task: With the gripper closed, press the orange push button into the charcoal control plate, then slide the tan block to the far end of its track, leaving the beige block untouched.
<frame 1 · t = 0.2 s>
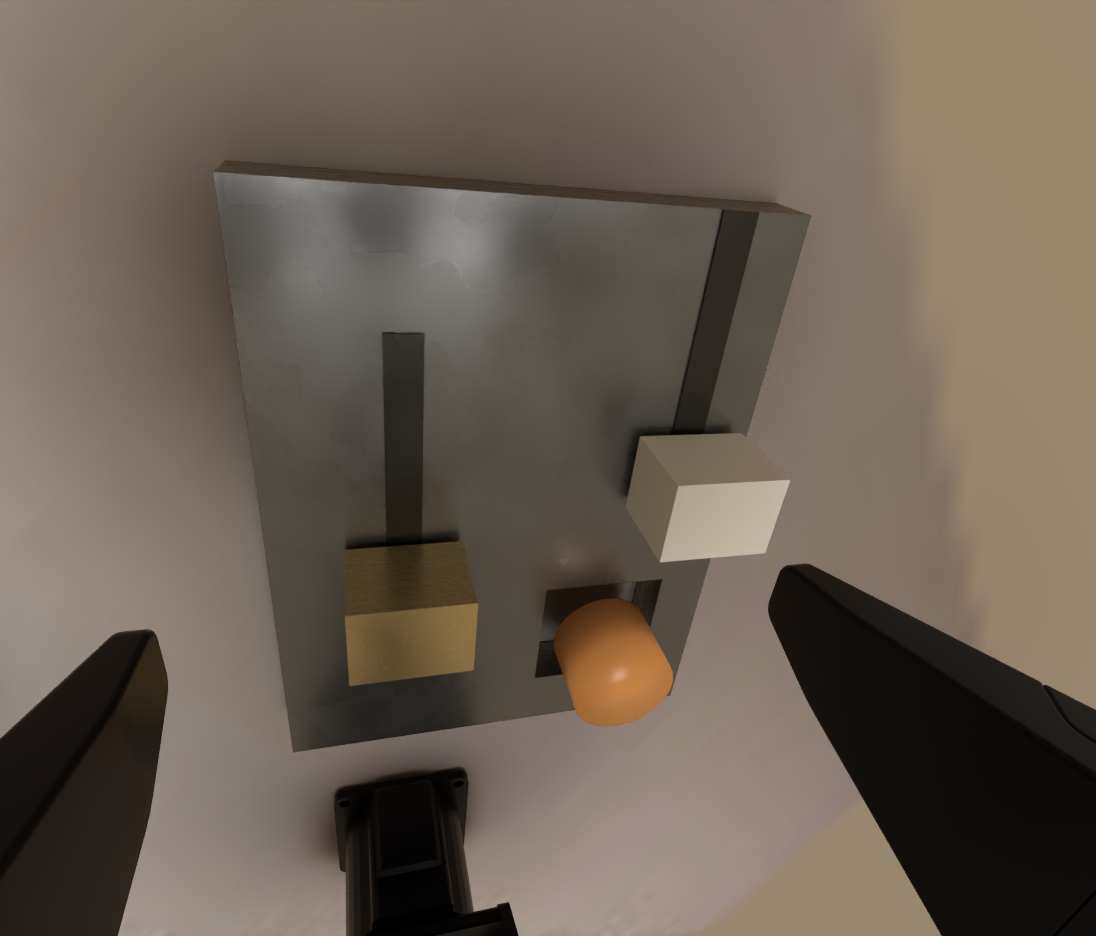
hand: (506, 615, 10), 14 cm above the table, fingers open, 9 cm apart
control plate: (505, 490, 26), on the table
orange push button: (611, 661, 27), point 4 cm above the table, slide at 0.0 cm
tan block: (408, 610, 22), point 4 cm above the table, slide at 0.0 cm
beige block: (702, 494, 23), point 4 cm above the table, slide at 0.0 cm
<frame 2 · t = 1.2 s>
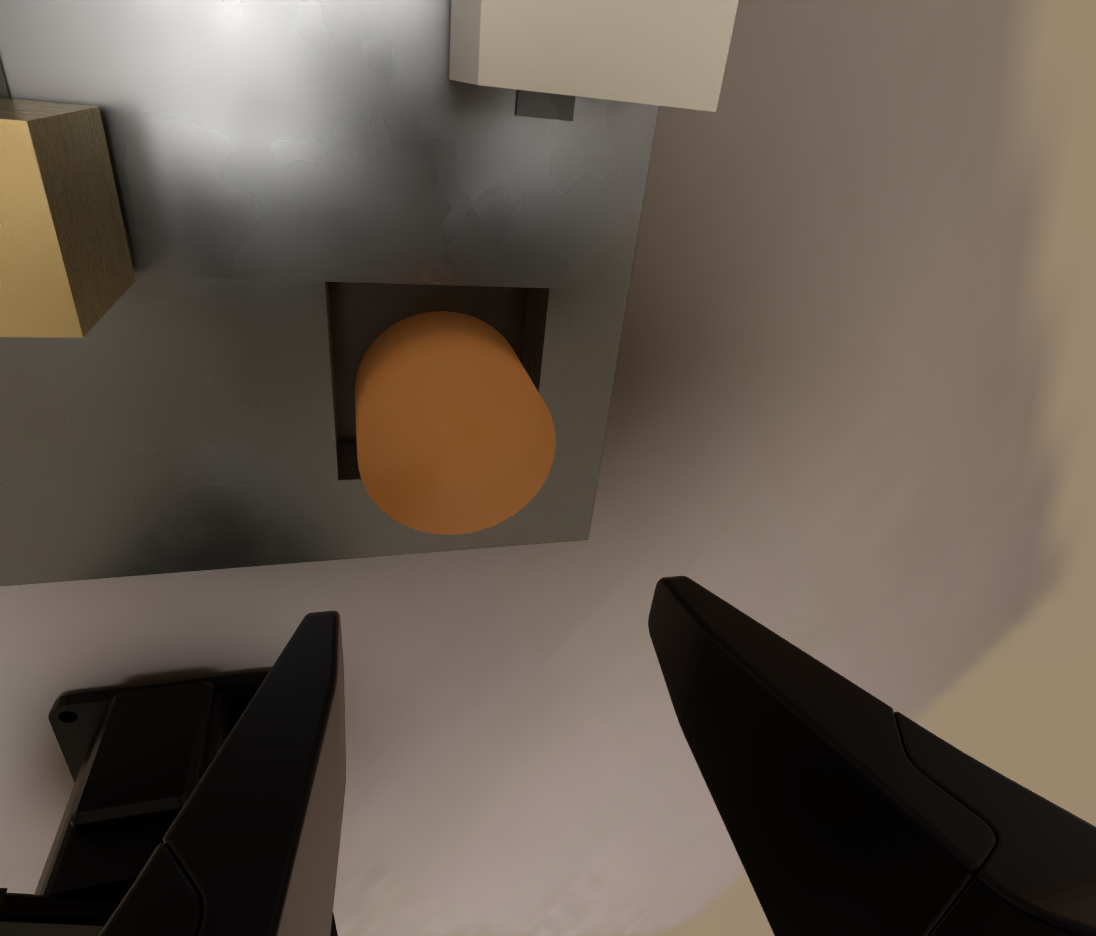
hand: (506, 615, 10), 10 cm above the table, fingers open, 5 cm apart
control plate: (238, 82, 14), on the table
orange push button: (450, 421, 15), point 4 cm above the table, slide at 0.0 cm
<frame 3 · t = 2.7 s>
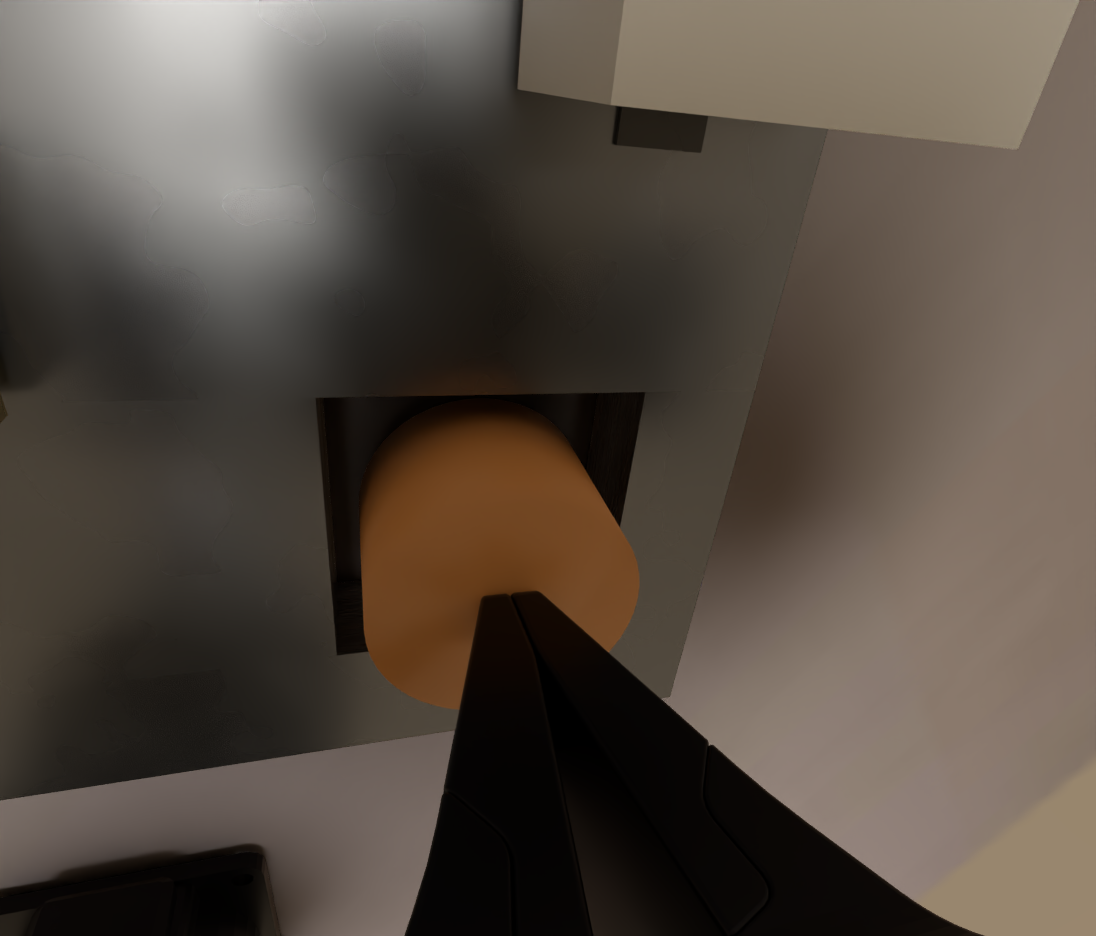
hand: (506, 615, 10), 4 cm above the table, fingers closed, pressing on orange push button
control plate: (179, 93, 9), on the table
orange push button: (489, 549, 11), point 3 cm above the table, slide at 1.3 cm, touching gripper
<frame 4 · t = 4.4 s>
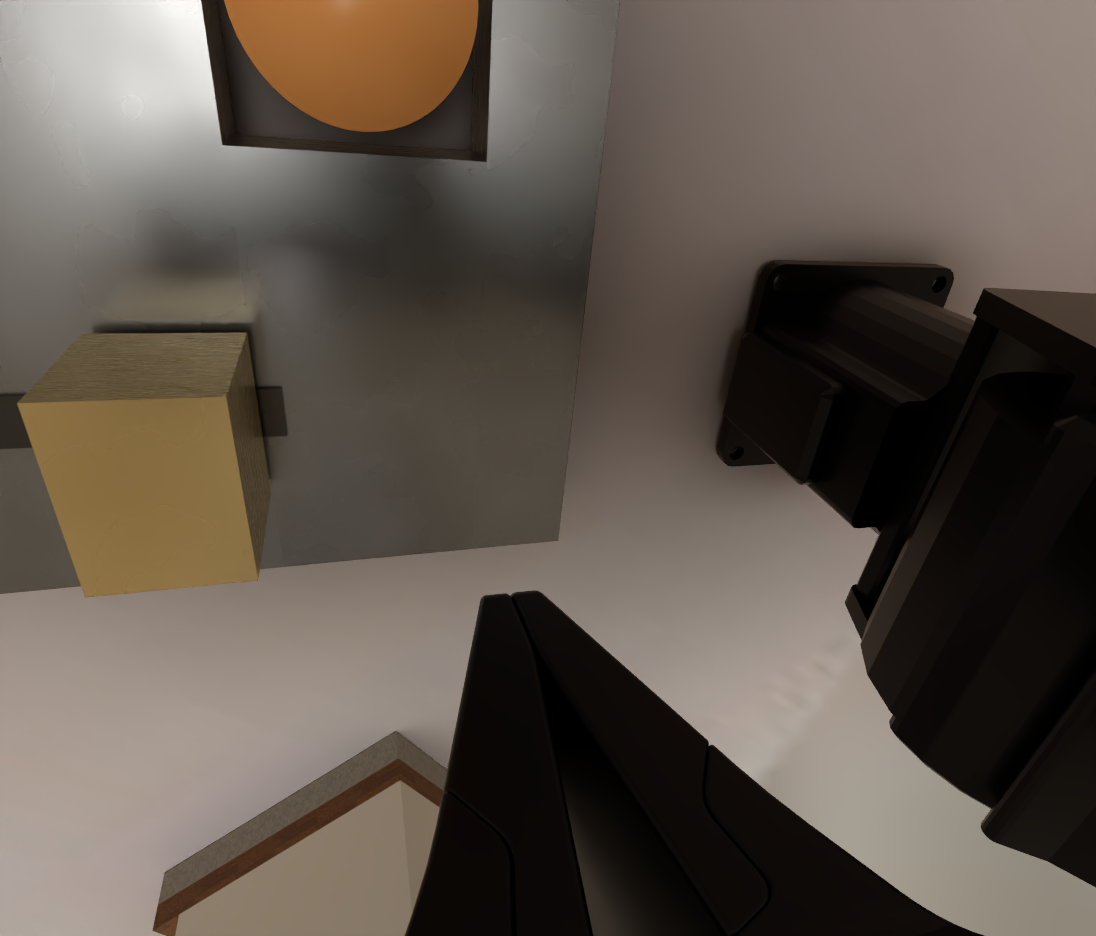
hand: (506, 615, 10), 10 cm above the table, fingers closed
beige tower stand: (372, 850, 28), on the table
control plate: (63, 203, 14), on the table
tan block: (170, 457, 13), point 4 cm above the table, slide at 0.0 cm
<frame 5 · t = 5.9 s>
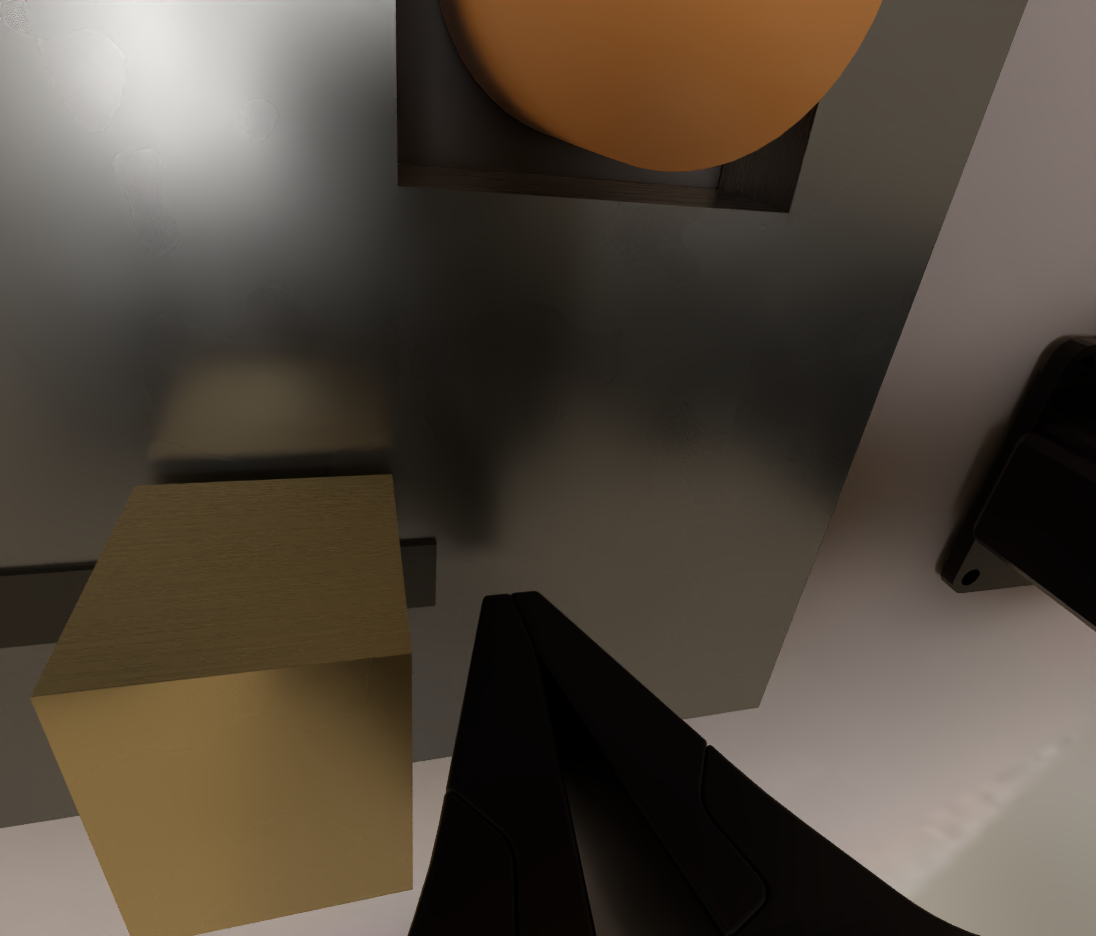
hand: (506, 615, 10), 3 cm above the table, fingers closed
control plate: (118, 265, 9), on the table
tan block: (275, 689, 8), point 4 cm above the table, slide at 0.1 cm, touching gripper
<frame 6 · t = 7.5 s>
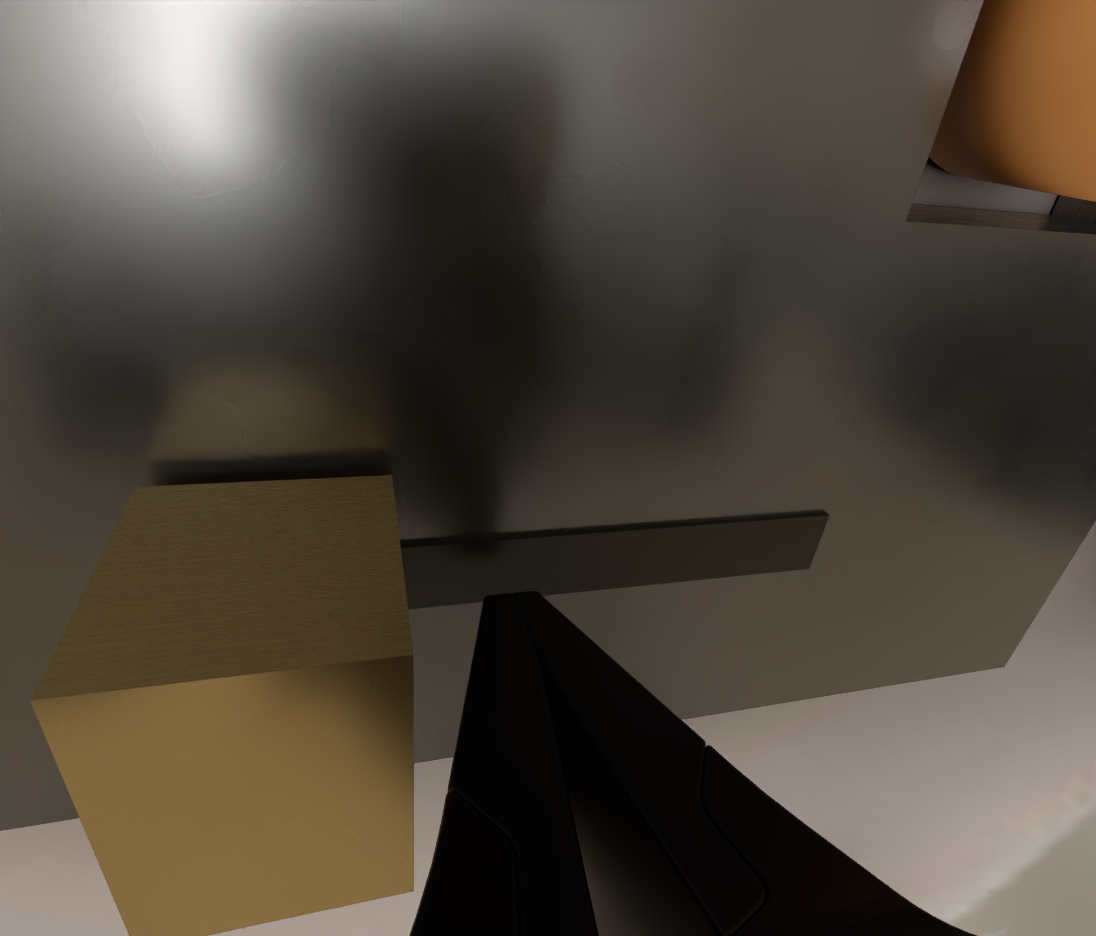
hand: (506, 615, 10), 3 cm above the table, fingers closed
control plate: (605, 282, 11), on the table
tan block: (275, 691, 8), point 4 cm above the table, slide at 7.0 cm, touching gripper
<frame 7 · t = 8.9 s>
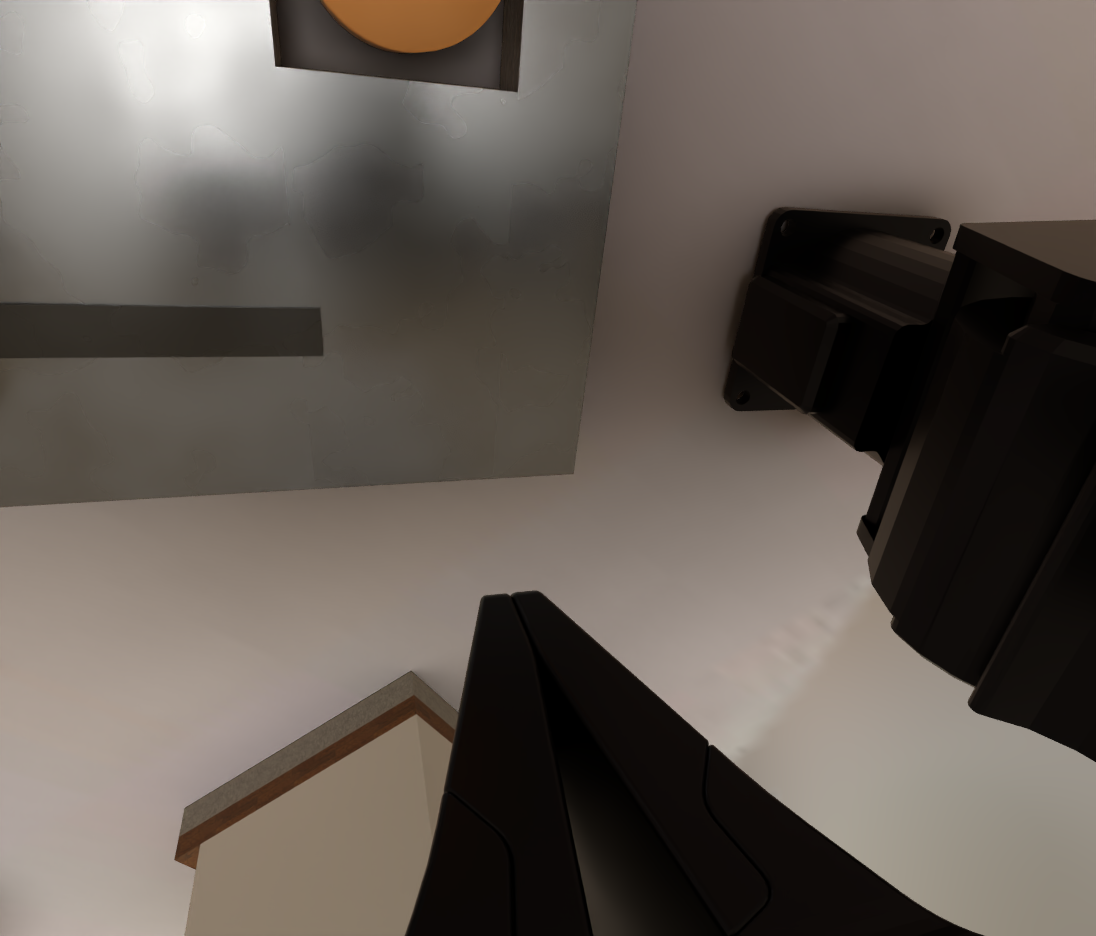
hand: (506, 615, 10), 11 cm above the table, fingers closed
beige tower stand: (383, 794, 29), on the table
control plate: (119, 126, 15), on the table
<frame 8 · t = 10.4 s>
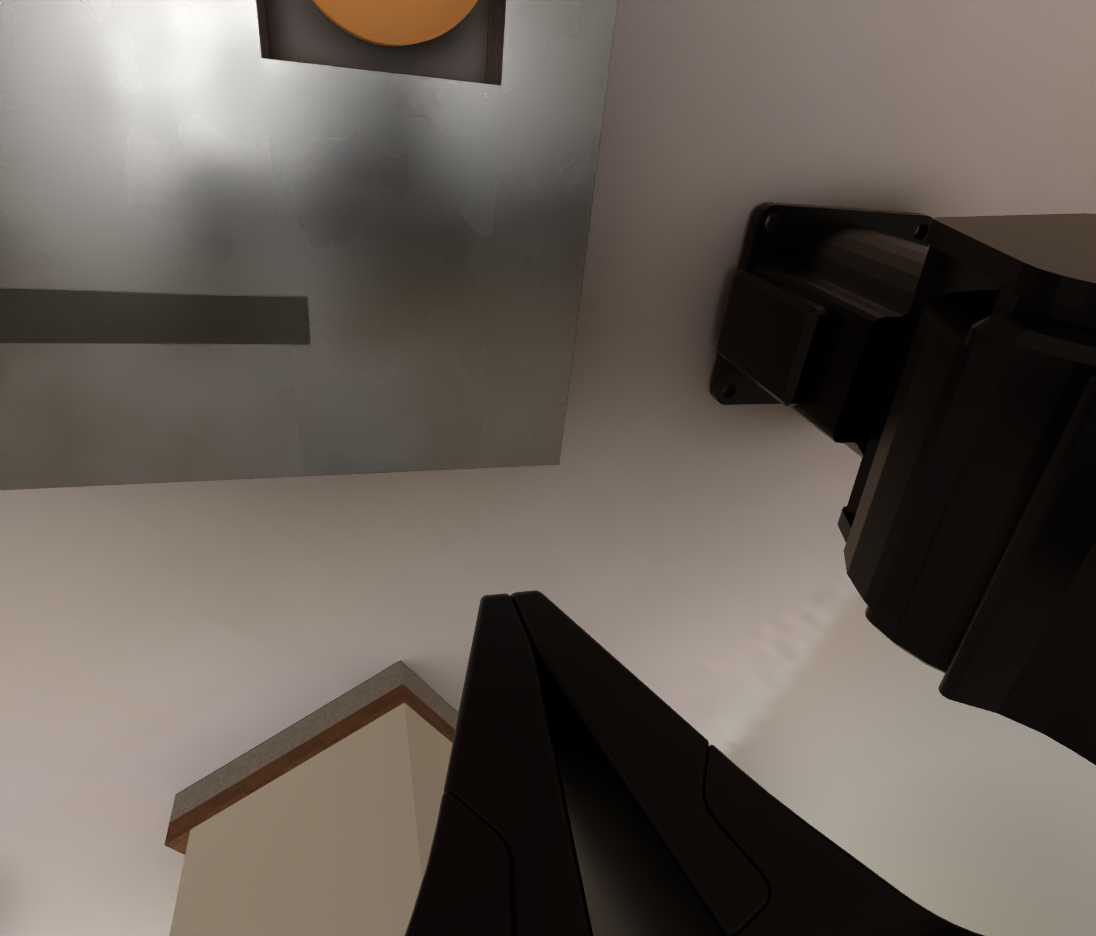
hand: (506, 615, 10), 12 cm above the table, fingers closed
beige tower stand: (373, 784, 30), on the table
control plate: (110, 116, 15), on the table
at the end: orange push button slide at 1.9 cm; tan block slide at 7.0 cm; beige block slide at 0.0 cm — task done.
